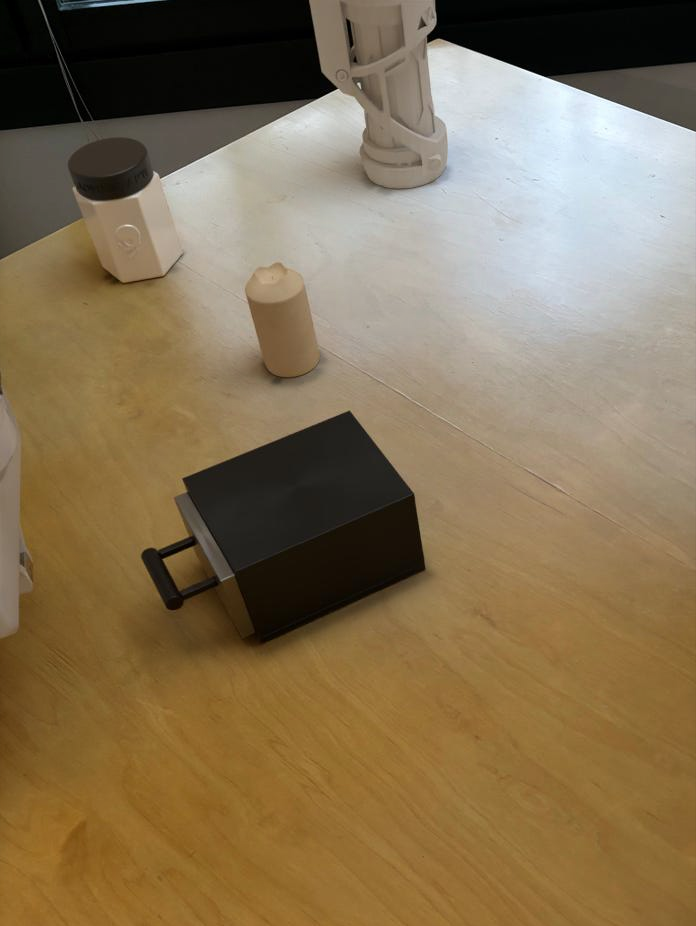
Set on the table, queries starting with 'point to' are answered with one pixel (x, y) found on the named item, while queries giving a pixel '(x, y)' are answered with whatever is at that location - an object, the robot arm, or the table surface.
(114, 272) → the jar
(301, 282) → the candle
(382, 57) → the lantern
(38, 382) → the table surface
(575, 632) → the table surface
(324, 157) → the table surface
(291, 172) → the table surface
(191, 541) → the drawer
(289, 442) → the cabinet
